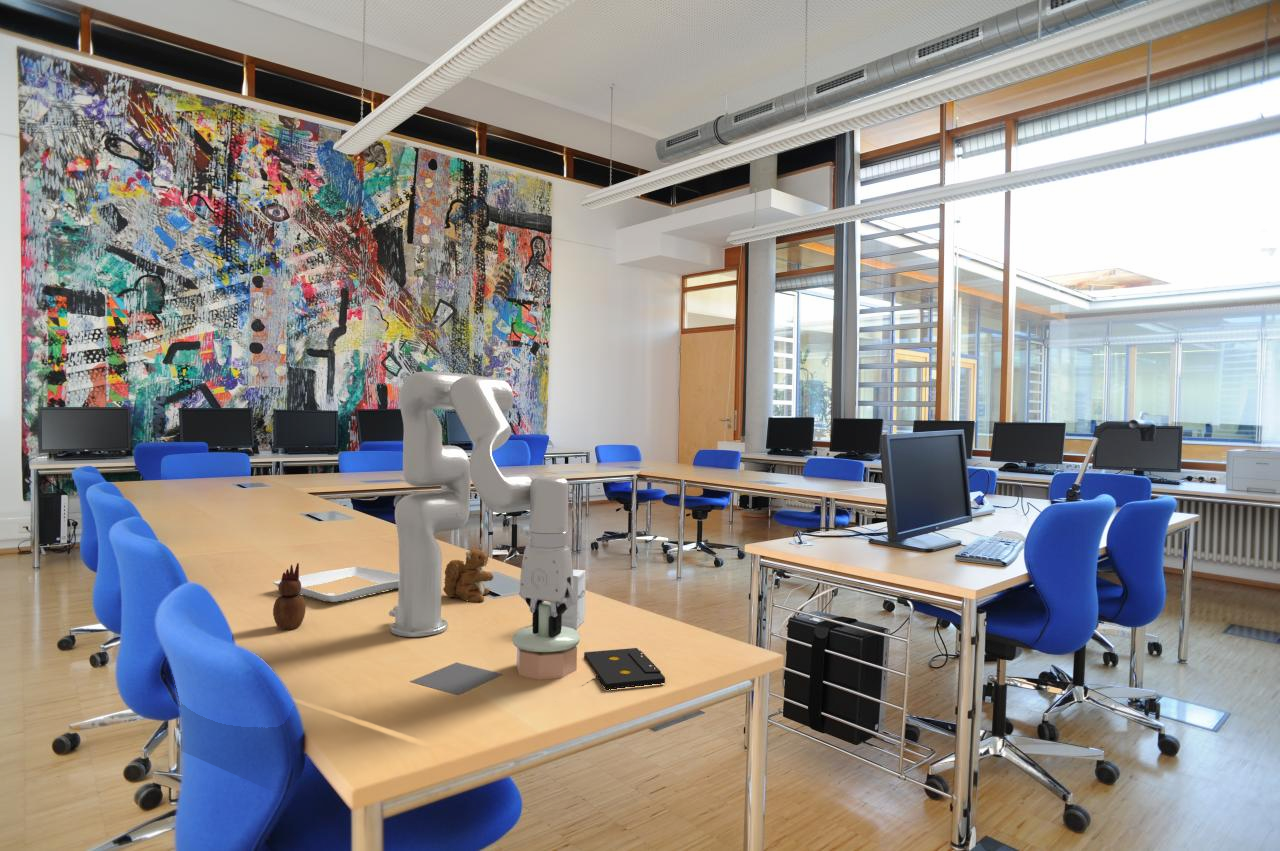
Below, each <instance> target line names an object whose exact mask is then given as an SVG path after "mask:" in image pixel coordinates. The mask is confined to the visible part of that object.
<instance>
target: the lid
mask: <svg viewBox="0 0 1280 851" xmlns="http://www.w3.org/2000/svg"><path fill="white" fill-rule="evenodd" d="M550 616H552V614H551V603H550V602H548V601H544V603H540V604H539V622H538V633H537V634H534V633H533V626H528V627H524V628H520V629H518V630H516V631H515V632H514V633H513V634H512V645H513V646H514V647H515V648H516V649H517V648H519V649H522V650H527V651H533V652H556V651H562V650H567V649H570V648H573V647H575V646H576V647H577V646H578V645H579V644H580V641H581V640H580V637H581V636H580V635H581V633H580V632H579V631H578V630H577V629H572V628H569V627H564V626H562V628H561V633H560V634H559V635H556V636H554V637H549V617H550Z"/></svg>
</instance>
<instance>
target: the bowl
mask: <svg viewBox="0 0 1280 851" xmlns="http://www.w3.org/2000/svg"><path fill="white" fill-rule="evenodd" d="M577 655H578V646H577V645H576V646H575V647H573V648H570V649H567V650H562V651H556V652H533V651H527V650H522V649H519V648H517V647H516V669H517V672H518V675H519V676H522V677H527V678H530V679H534V680H551V679H563V678H565V677H566V676H567V677H568V675H571V674H573V673H575V672H577V667H578V666H577V665H578V664H577V663H578V660H577V659H578V656H577Z"/></svg>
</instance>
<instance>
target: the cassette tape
mask: <svg viewBox="0 0 1280 851" xmlns="http://www.w3.org/2000/svg"><path fill="white" fill-rule="evenodd" d="M583 660H586V661H587V663H588V664H589V665H590V667H591V669H592V670H593V671H594V673H595V674H596V676H595V677H596V678H598V679H597V680H598V681H599V682H600V684H601V686H602V685H603V686H604V687H605V689H606V690H609V689H610V690H611V689H617V688H625V687H635V686H644V685H652V684H661V683H665V684H666V677H665V676H664V675H663V673H662V671H661V670H660V669H659V668H658V667H657V666H656V664H655V663H653V662H652V660H650V659H649V657H648V656H647V655H646V654H645V652H643V651H642V650H639V648H637V647H631V648H619V649H617V648H616V649H608V650H605V649H604V650H596V651H594V650H593V651H585V652H584V653H583ZM603 686H602V687H603ZM604 687H603V688H604ZM605 689H604V690H605ZM606 690H605V691H606Z"/></svg>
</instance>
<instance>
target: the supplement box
mask: <svg viewBox="0 0 1280 851" xmlns="http://www.w3.org/2000/svg"><path fill="white" fill-rule="evenodd" d="M586 572H587V571H586V570H585V569H584V570H583V569H573V593H574V595H575V597H576V600H577V604H575V605H573V606H571V607H569V608H568V609H567V610H566V611H565V612H564V614H562V626H564V627H569V628H572V629H575V630H577V629H578V627H579V626H580V625H582V623H584V622H585V620H586V619H585V615H586V576H587V575H586V574H587V573H586ZM566 600H567V599H566V598H564V602H566ZM547 602H549V601H547ZM550 603H551V602H550ZM557 606H558V603H557Z"/></svg>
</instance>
